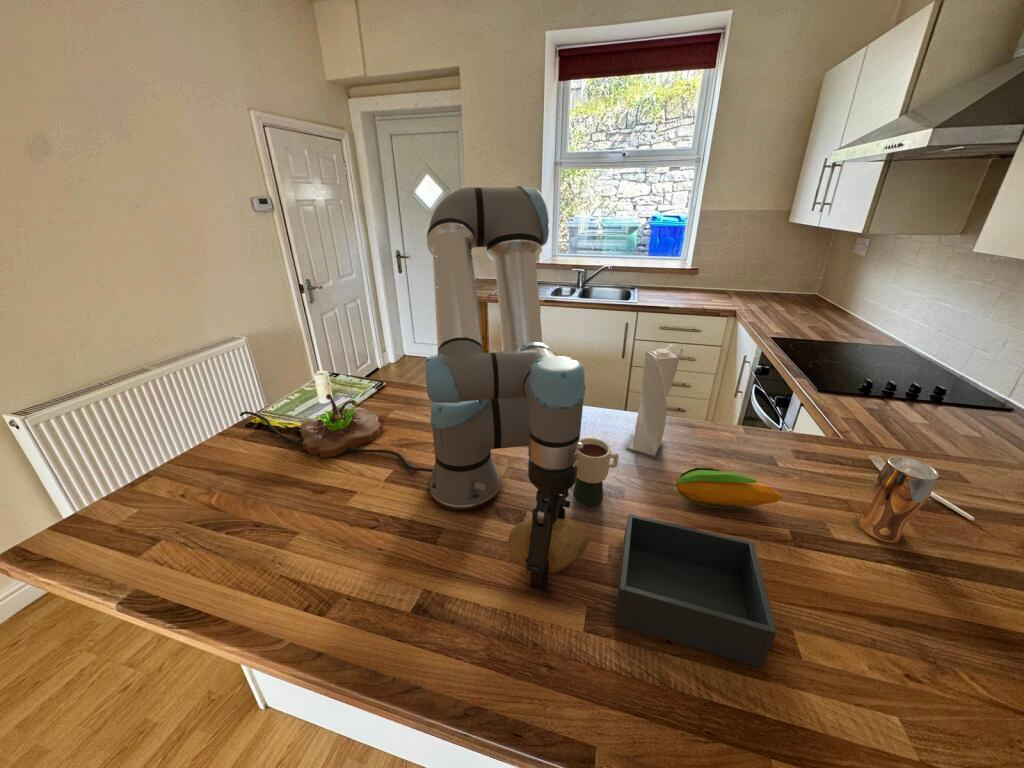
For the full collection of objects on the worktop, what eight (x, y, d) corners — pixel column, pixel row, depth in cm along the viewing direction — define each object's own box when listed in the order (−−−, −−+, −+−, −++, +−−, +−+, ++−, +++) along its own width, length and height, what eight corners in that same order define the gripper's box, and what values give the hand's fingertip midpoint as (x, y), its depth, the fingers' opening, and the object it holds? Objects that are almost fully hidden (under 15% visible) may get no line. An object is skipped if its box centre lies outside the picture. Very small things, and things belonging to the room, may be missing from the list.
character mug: (608, 486, 88) (614, 436, 82) (618, 509, 82) (625, 456, 76) (559, 488, 87) (562, 438, 82) (565, 511, 81) (569, 459, 75)
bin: (613, 623, 60) (619, 588, 57) (623, 544, 73) (628, 513, 70) (761, 668, 54) (777, 633, 51) (742, 574, 68) (753, 541, 64)
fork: (966, 523, 78) (970, 516, 77) (864, 462, 95) (867, 455, 95) (978, 520, 78) (983, 513, 78) (875, 460, 96) (879, 453, 95)
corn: (676, 457, 85) (779, 466, 81) (670, 484, 88) (768, 494, 85) (683, 481, 78) (795, 493, 75) (676, 509, 82) (782, 521, 79)
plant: (361, 407, 120) (354, 373, 115) (392, 433, 107) (386, 396, 102) (289, 432, 108) (279, 395, 103) (315, 465, 95) (304, 424, 90)
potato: (595, 580, 67) (599, 545, 63) (511, 589, 65) (511, 554, 62) (579, 535, 75) (582, 502, 72) (505, 542, 74) (505, 509, 71)
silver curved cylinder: (892, 522, 78) (926, 459, 72) (911, 549, 72) (950, 483, 66) (849, 513, 80) (879, 451, 74) (864, 539, 74) (898, 474, 68)
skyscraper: (667, 445, 102) (687, 341, 90) (659, 462, 96) (680, 352, 84) (634, 435, 106) (649, 335, 94) (624, 451, 100) (639, 345, 88)
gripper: (560, 517, 50) (553, 629, 59) (590, 423, 70) (581, 517, 79) (503, 503, 52) (505, 613, 61) (548, 416, 72) (544, 509, 81)
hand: (548, 559), depth 70 cm, fingers open, 11 cm apart
